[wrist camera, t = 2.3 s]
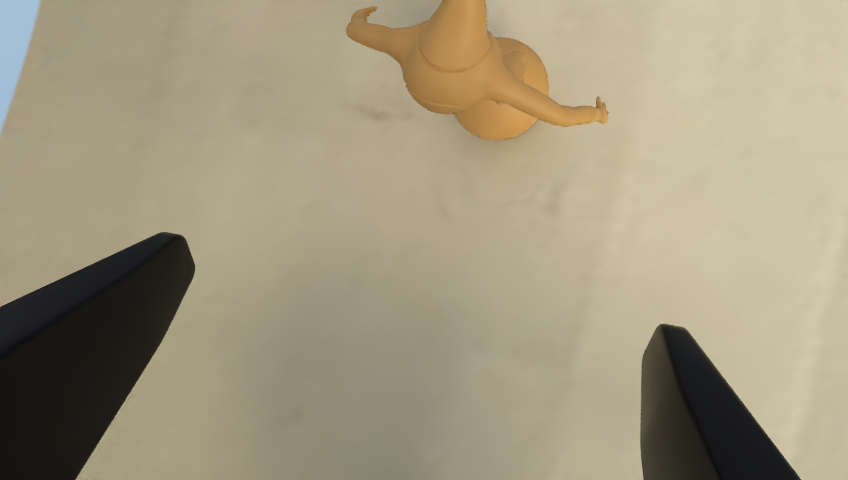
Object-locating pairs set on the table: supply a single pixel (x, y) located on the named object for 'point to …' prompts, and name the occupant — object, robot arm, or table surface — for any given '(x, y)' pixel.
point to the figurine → (472, 71)
